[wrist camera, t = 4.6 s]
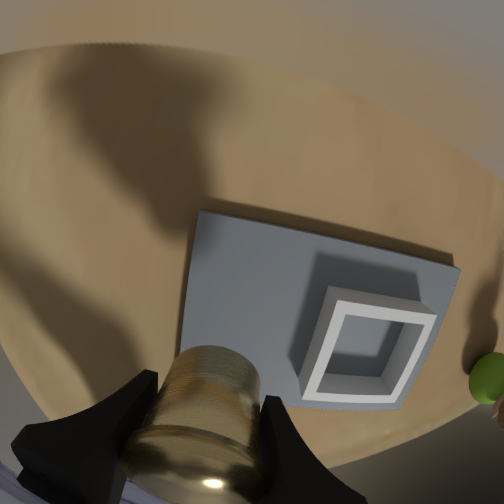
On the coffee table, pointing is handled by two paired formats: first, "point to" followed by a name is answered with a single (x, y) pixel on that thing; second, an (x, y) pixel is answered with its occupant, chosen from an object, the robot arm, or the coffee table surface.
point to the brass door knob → (201, 433)
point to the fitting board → (314, 311)
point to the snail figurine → (489, 383)
